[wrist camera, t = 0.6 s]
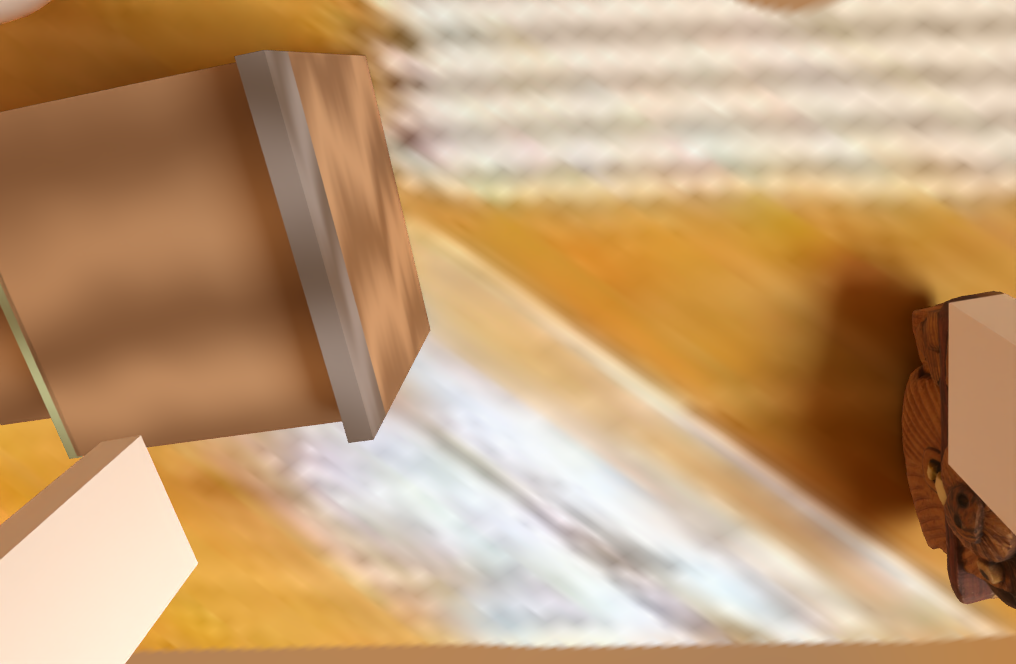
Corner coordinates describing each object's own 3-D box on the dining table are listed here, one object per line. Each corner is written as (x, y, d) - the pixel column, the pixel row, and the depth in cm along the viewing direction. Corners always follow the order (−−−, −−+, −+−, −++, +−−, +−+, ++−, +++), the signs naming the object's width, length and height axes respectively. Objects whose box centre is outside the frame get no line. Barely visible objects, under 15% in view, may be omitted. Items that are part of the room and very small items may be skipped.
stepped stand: (-42, 138, 36) (-313, 170, 25) (365, 54, 33) (263, 48, 22) (65, 385, 41) (-123, 504, 30) (430, 330, 38) (373, 440, 27)
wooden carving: (861, 286, 35) (967, 364, 26) (958, 261, 35) (1102, 333, 25) (902, 548, 41) (1002, 692, 31) (987, 532, 40) (1116, 675, 30)
